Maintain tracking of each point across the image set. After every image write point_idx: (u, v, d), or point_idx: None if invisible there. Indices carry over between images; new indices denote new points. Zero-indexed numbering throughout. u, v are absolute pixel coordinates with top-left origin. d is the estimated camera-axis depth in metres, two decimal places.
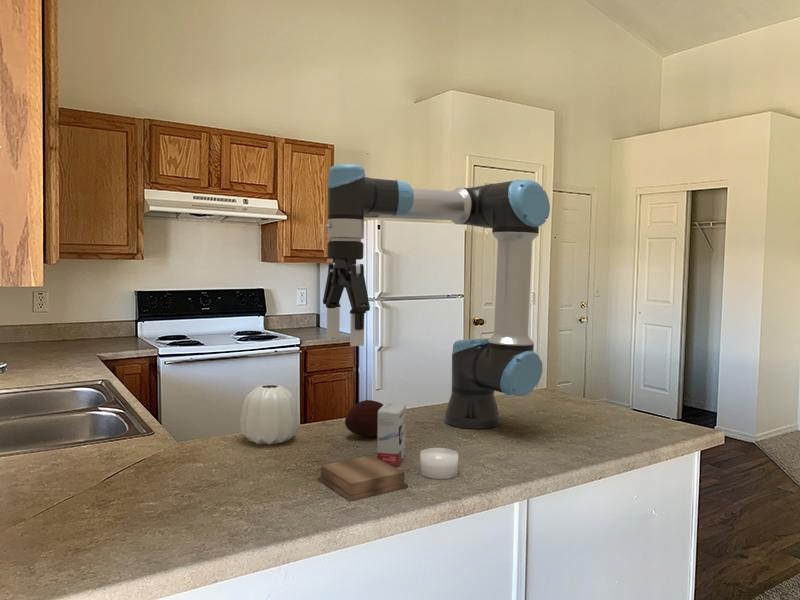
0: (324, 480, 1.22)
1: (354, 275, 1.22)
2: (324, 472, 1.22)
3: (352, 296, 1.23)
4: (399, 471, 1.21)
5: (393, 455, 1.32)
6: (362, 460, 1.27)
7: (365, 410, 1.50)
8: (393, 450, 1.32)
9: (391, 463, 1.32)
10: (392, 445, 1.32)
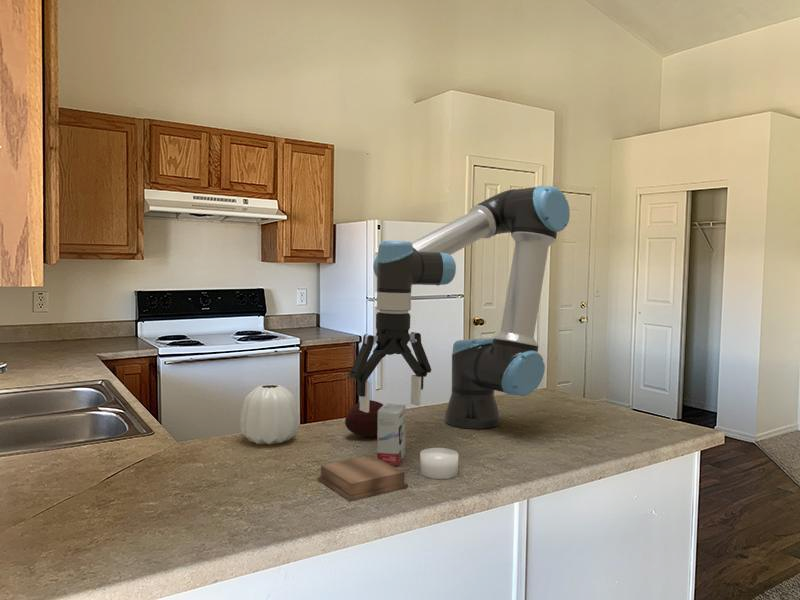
0: (324, 480, 1.22)
1: (362, 345, 1.32)
2: (324, 472, 1.22)
3: (365, 364, 1.32)
4: (399, 471, 1.21)
5: (393, 455, 1.32)
6: (362, 460, 1.27)
7: None
8: (393, 450, 1.32)
9: (391, 463, 1.32)
10: (392, 445, 1.32)
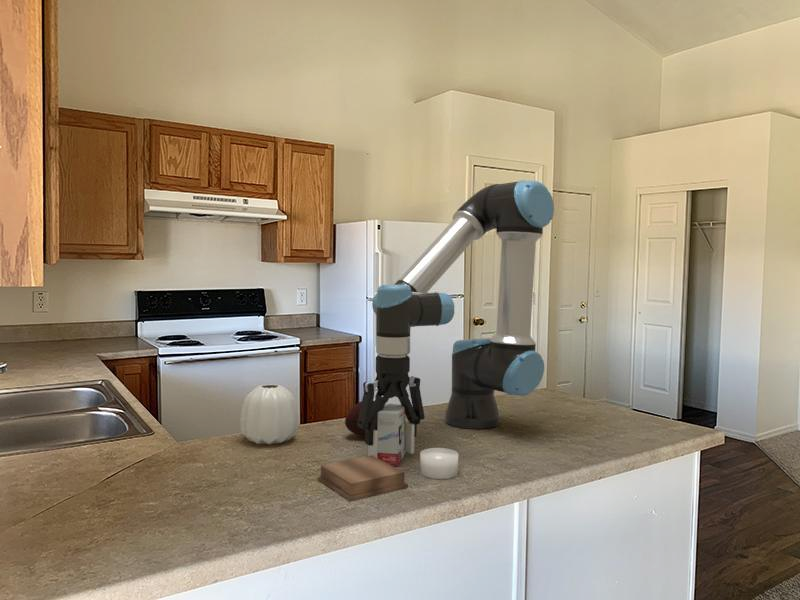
0: (324, 480, 1.22)
1: (364, 393, 1.33)
2: (324, 472, 1.22)
3: (370, 412, 1.34)
4: (399, 471, 1.21)
5: (393, 455, 1.32)
6: (362, 460, 1.27)
7: None
8: (393, 450, 1.32)
9: (391, 463, 1.32)
10: (392, 445, 1.32)
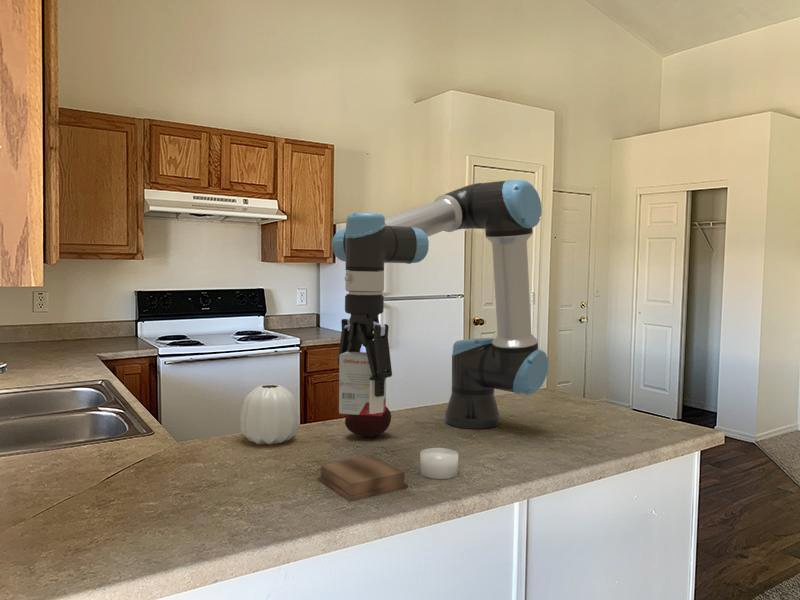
0: (324, 480, 1.22)
1: (378, 338, 1.14)
2: (324, 472, 1.22)
3: (373, 360, 1.16)
4: (399, 471, 1.21)
5: (385, 399, 1.21)
6: (362, 460, 1.27)
7: None
8: (385, 394, 1.21)
9: (385, 409, 1.21)
10: (385, 389, 1.21)
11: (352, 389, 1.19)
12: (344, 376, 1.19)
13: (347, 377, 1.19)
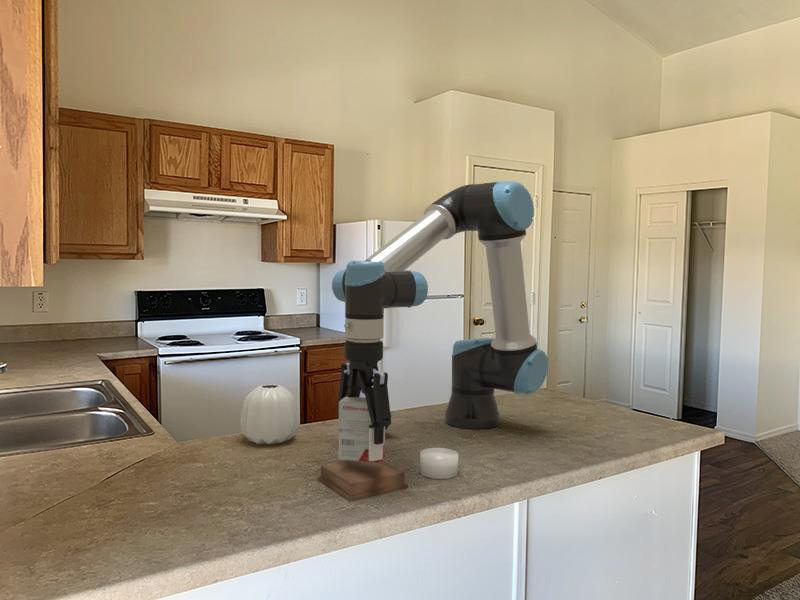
0: (324, 480, 1.22)
1: (378, 386, 1.15)
2: (324, 472, 1.22)
3: (372, 407, 1.16)
4: (399, 471, 1.21)
5: (384, 445, 1.22)
6: None
7: None
8: (384, 439, 1.22)
9: (384, 454, 1.22)
10: (384, 434, 1.22)
11: (352, 436, 1.19)
12: (344, 422, 1.19)
13: (347, 423, 1.19)
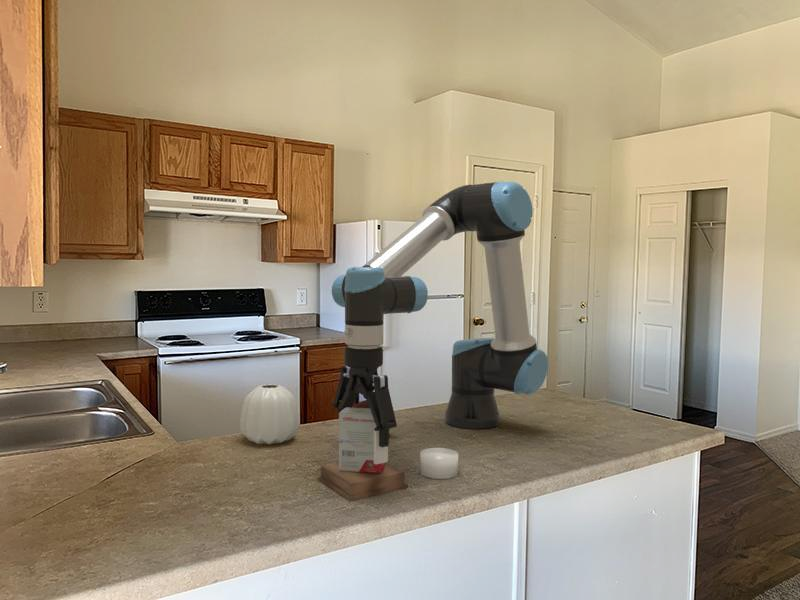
0: (324, 480, 1.22)
1: (379, 389, 1.14)
2: (324, 472, 1.22)
3: (376, 410, 1.15)
4: (399, 471, 1.21)
5: None
6: None
7: None
8: None
9: (384, 465, 1.22)
10: None
11: (352, 447, 1.19)
12: (344, 434, 1.20)
13: (347, 434, 1.19)
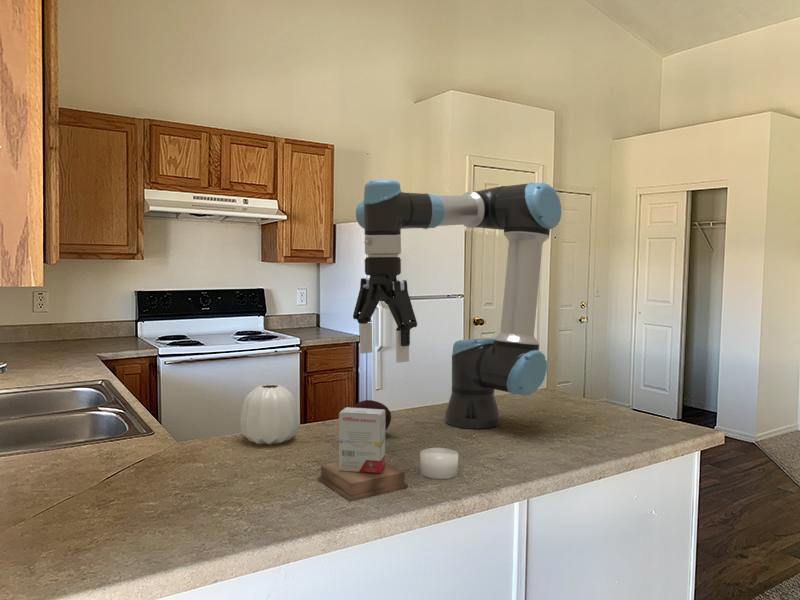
0: (324, 480, 1.22)
1: (399, 292, 1.22)
2: (324, 472, 1.22)
3: (397, 313, 1.23)
4: (399, 471, 1.21)
5: (384, 456, 1.22)
6: None
7: None
8: (384, 450, 1.22)
9: (384, 465, 1.22)
10: (384, 445, 1.22)
11: (352, 447, 1.19)
12: (344, 434, 1.20)
13: (347, 434, 1.19)
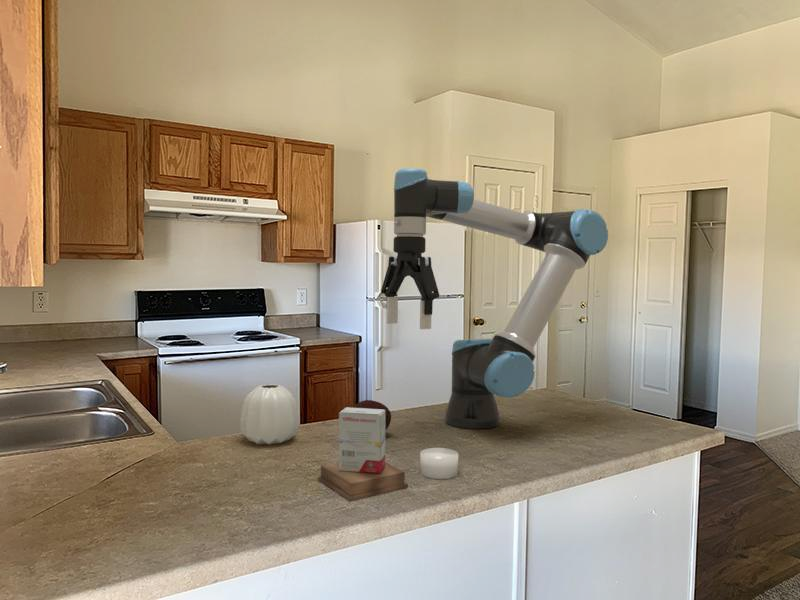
0: (324, 480, 1.22)
1: (424, 266, 1.39)
2: (324, 472, 1.22)
3: (421, 285, 1.40)
4: (399, 471, 1.21)
5: (384, 456, 1.22)
6: None
7: None
8: (384, 450, 1.22)
9: (384, 465, 1.22)
10: (384, 445, 1.22)
11: (352, 447, 1.19)
12: (344, 434, 1.20)
13: (347, 434, 1.19)
